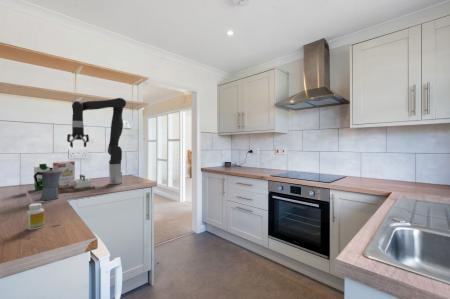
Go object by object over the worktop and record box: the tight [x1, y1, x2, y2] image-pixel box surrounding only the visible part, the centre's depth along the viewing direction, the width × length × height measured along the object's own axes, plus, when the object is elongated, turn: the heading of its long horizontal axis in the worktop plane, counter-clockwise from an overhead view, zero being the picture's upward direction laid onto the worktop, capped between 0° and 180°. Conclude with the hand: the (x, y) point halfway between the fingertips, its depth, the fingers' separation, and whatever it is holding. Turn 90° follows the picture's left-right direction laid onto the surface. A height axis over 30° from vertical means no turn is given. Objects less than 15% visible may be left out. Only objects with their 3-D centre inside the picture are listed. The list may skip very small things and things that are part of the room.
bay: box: [57, 182, 96, 195], centre depth 158 cm, size 23×13×9 cm, turn 136°
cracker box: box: [52, 160, 76, 188], centre depth 168 cm, size 14×6×21 cm, turn 168°
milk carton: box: [33, 163, 51, 191], centre depth 161 cm, size 9×9×20 cm
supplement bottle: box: [26, 202, 45, 231], centre depth 90 cm, size 5×5×10 cm
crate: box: [74, 174, 92, 189], centre depth 161 cm, size 9×10×10 cm
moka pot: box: [33, 167, 62, 201], centre depth 134 cm, size 10×15×20 cm, turn 161°
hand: (78, 147), depth 172 cm, fingers open, 8 cm apart
